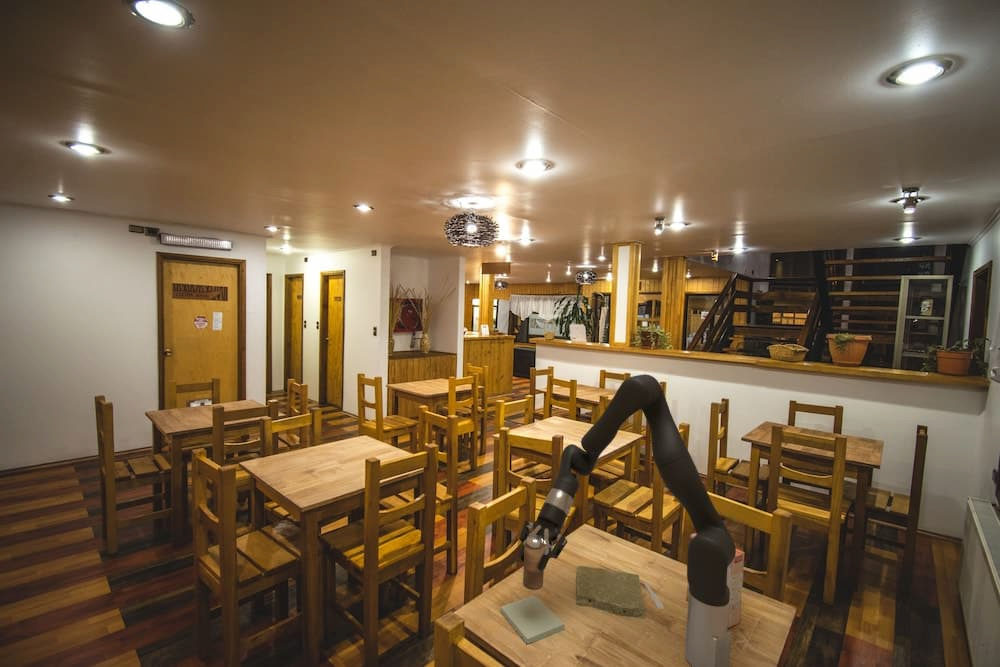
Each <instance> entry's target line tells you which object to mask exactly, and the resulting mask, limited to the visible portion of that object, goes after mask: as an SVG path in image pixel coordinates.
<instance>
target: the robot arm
mask: <svg viewBox="0 0 1000 667" xmlns="http://www.w3.org/2000/svg"><path fill="white" fill-rule="evenodd" d="M640 410H641V411H642V413H643V415H644V417H645V419H646V421H647V424H648V427H649V430H650V431H649V432H650V437H651V438H650V439H651V440H650V441H651V452H652V458H653V461H654V464H655V466H656V468H657V471H658V473H659V475H660V478H661V479H662V482H663V484H664V485H665V487H666V488H667V490H668V491H669V492H670V493H671V494H672V496H674V497H675V498H676V500H678V502H679V503H680V504H681V505H682V507H683V508H684V509H685V511H686V512H687V514H688V516H689V519H690V520H691V523H692V525H693V528H694V532H695V533H696V534H697V535H696V536H695V537H694V538H693V539H692V540H691V541H690V540H689V544H688V548H687V554H686V555H687V557H686V560H687V561H686V562H687V563H686V579H687V583H689V595H688V600H687V613H686V626H685V644H684V657H685V660H686V662H688V664H689V666H691V667H729V666H730V655H731V654H730V653H731V651H730V650H731V638H732V633H731V631H730V630H729V628H728V613H729V600H730V590H729V588H728V586H727V569H728V566H729V565H730V563H731V562H732V561H733V559H734V558H735V555H736V549H737V546H736V544H735V541H734V539H733V537H732V535H731V533H730V531H729V529H728V528H727V527H726V524H725V523H724V522H723V520H722V518H721V516H720V514H719V513H718V511H717V509H716V507H715V504H713V501H712V500H711V498H710V495H709V493H708V491H707V488H706V487H705V486H706V485H705V484H704V482H703V480H702V478H701V475H700V473H699V471H698V468H697V466H696V464H695V462H694V460H693V458H692V455H691V454H690V452H689V450H688V448H687V446H686V444H685V441H684V439H683V437H682V435H681V432H680V430H679V429H678V426H677V424H676V422H675V420H674V418H673V416H672V413H671V410H670V407H669V404H668V402H667V399H666V395H665V393H664V390H663V388H662V386H661V384H660V382H659V380H657V378H656V377H654V376H652V375H650V374H645V373H644V374H639V375H633V376H629V377H627V378H626V379H624V380H623V382H622V383H621V384H620V385H619V387H618V389H617V390H616V392H615V393H614V396H613V398H612V399H611V401H610V403H609V404H608V406H607V407H606V408H605V410H604V411H603V413H602V414H601V416H600V417H599V418H598V419H597V420H596V421H595V423H594V424H593V425H592V426H591V427H590V428H589V430H587V432H586V433H585V434H584V435H583V436H582V437H581V440H580V445H581V447H579V446H578V445H576V444H573V443H572V444H568V445H567V446H565V447H564V448H563V451H561V452H562V453H561V457H560V462H559V469H558V474H557V476H556V479H555V480H554V483H553V485H552V488H551V490H550V491H549V492H548V494H547V496H546V498H545V500H544V501H543V502H544V503H543V504H542V505H541V506H542V507H541V509H540V511H539V513H538V515H537V518H536V520H535V521H534V522H530V521H529V520H527V519H526V520H525V521H524V523H523V526H522V529H521V533H520V535H519V537H518V538H519V539H518V540H519V541H520V542H521V544H522V547H521V549H520V550H519V553H518V559H519V560H520V561H521V562H522V563H524V545H525V543H526V542H527V537H528V536H529V535H532V534H536V535H539V536H541V537H542V538H543V544H544V547H545V548H544V555H542V557H541V559H540V561H539V563H538V566H537V568H538V569H539V570H540V571H542V570H545V569H546V567H547V565H548V562H549V561H550V559H555V560H556V559H558V557H559V556H560V554H561V552H562V551H563V550H564V548H565V547H566V546H567V544H568V538H566V537H565V535H562V534H561V530H562V529H563V527H564V524H565V522H566V521H567V517H568V515H569V514H570V511H571V508H572V505H573V503H574V500H575V497H576V495H577V492H578V490H579V488H580V482H579V480H578V479H577V478H576V477H575V476H574V475H573V474H572V471H573V472H575V473H576V474H578V475H579V476H581V477H587V476H589V475H591V473H593V471H594V469H595V467H596V464H597V461H598V459H599V458H600V456H601V454H602V453H603V452H604V451H605V450H606V448H608V446H609V445H610V444H612V442H613V440H615V438H616V436H617V434H618V432H619V430H620V429H621V427H622V425H623V424H624V423H625V422H626V420H628V419H629V418H630V417H631V416H633V415H634V414H636V412H638V411H640ZM530 531H532V532H530ZM555 541H556V543H555V545H554V546H553V544H554V542H555Z"/></svg>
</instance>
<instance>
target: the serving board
mask: <svg viewBox="0 0 1000 667" xmlns="http://www.w3.org/2000/svg"><path fill="white" fill-rule="evenodd" d="M499 612H500V613H501V614H502V616H503V617H504V619H505V620H506V621H507V622H508V623H509V624H510V626H511V627H512V628H513V629H514V631H515V632H516V631H517V632H516V633H517V634H518V635H519V636H520V638H521V637H522V638H521V639H522V640H523V641H524V642H526V643H527V644H526V643H525V644H526V645H529V644H528V643H530V644H532V643H535V642H536V641H539V640H542V639H544V638H547V637H549V636H551V635H552V636H553V635H554V634H556V633H558V632H561V631H563V630H565V624H564V622H562V620H561V619H560V618H559V617H558V616H557V615H556V614H555V613H554V612H553V611H552V610H551V609H550V608H549V607H548V606H547V605H546V604H545V603H544V602H543V601H542V600H541V599H540V598H539V597H538V596H537V595H536V594H534V595H533V594H532V595H531V596H527V597H524V598H522V599H519V600H516V601H512V602H510V603H507V604H504V605H501V606H500V610H499ZM534 641H535V642H534ZM531 642H532V643H531Z"/></svg>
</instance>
